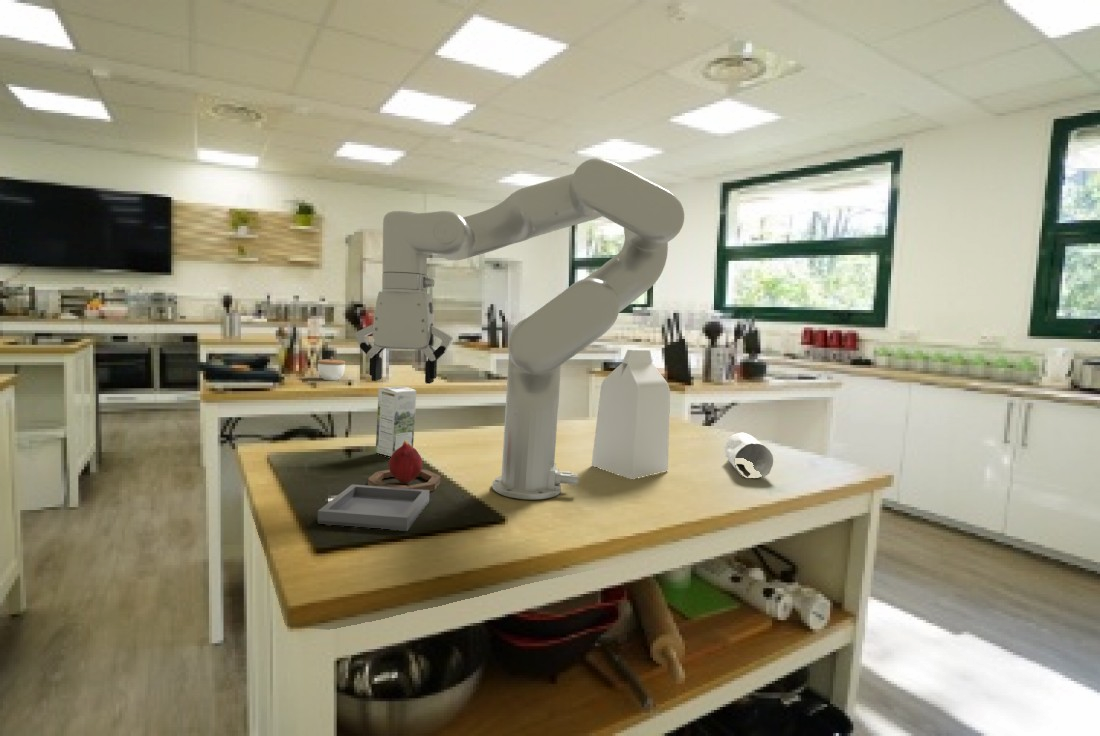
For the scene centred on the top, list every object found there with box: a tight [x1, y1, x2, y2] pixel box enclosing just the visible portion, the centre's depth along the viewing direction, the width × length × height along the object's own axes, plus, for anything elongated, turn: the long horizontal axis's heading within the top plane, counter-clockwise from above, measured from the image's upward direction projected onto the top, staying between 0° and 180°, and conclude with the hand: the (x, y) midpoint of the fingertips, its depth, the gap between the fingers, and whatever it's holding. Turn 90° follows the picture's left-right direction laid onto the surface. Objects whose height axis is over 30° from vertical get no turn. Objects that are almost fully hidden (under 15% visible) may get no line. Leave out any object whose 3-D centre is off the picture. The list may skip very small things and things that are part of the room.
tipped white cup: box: [724, 431, 774, 478], centre depth 131 cm, size 8×19×8 cm, turn 173°
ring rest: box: [367, 468, 442, 492], centre depth 103 cm, size 12×12×1 cm
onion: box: [388, 440, 423, 485], centre depth 103 cm, size 6×6×8 cm
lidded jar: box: [317, 356, 346, 381], centre depth 234 cm, size 11×11×9 cm
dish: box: [316, 483, 431, 532], centre depth 88 cm, size 13×13×2 cm
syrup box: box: [375, 386, 417, 456], centre depth 123 cm, size 6×6×14 cm
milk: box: [591, 349, 671, 480], centre depth 123 cm, size 12×12×26 cm
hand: (403, 381), depth 102 cm, fingers open, 9 cm apart
